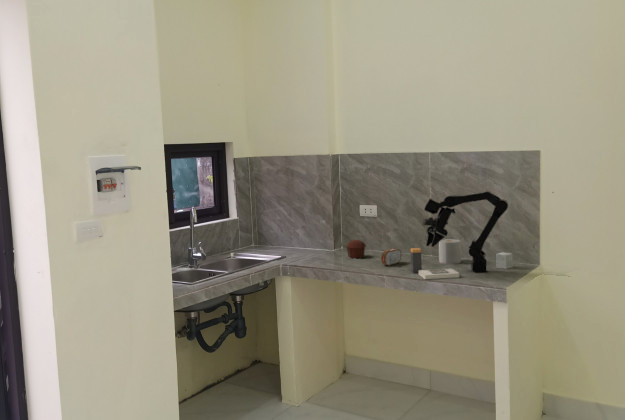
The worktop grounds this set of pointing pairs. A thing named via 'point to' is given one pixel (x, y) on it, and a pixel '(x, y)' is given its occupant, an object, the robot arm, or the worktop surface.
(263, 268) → the worktop surface
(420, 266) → the plug
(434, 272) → the socket plate
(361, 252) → the muffin
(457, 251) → the toilet paper roll
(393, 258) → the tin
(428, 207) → the robot arm
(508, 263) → the product box
